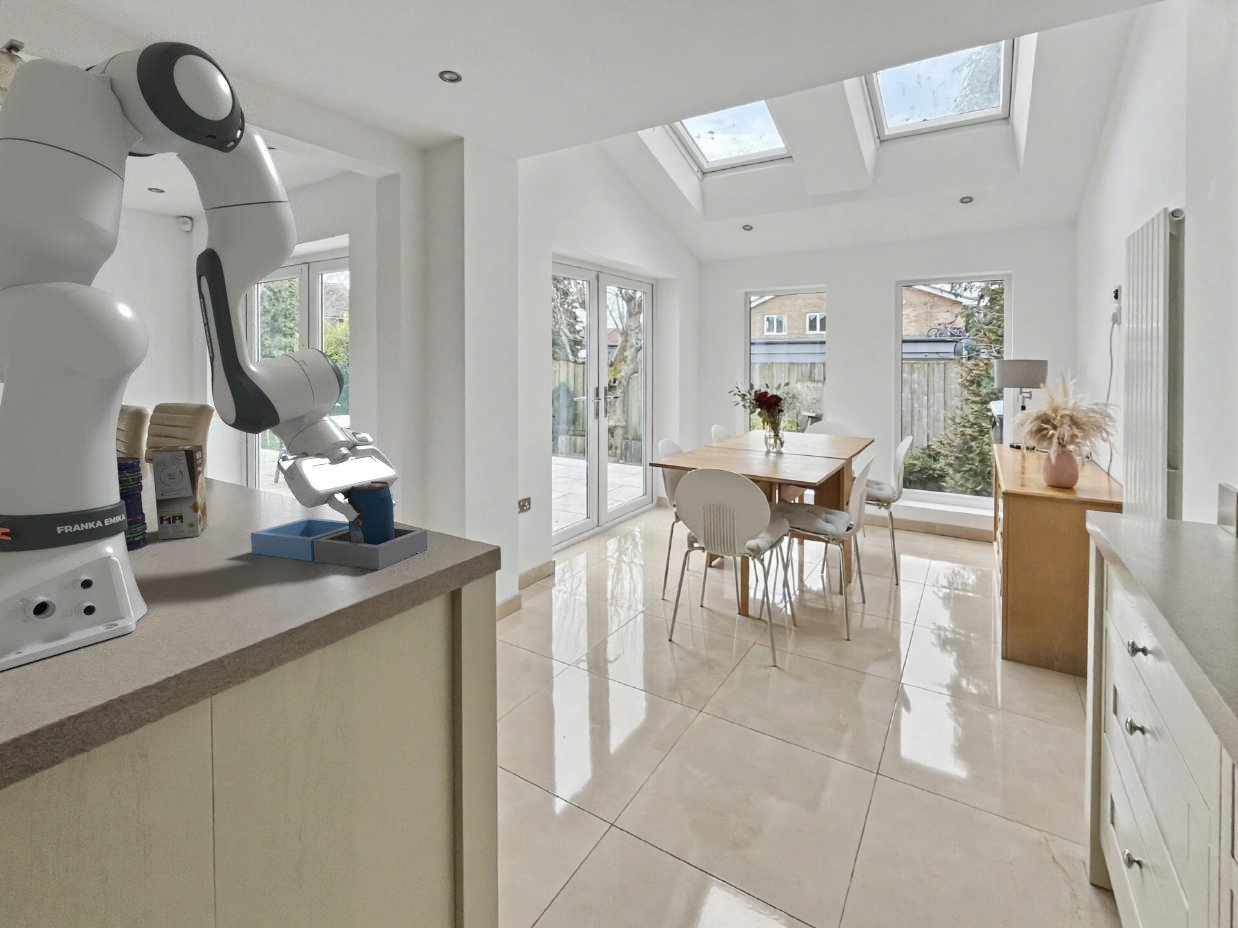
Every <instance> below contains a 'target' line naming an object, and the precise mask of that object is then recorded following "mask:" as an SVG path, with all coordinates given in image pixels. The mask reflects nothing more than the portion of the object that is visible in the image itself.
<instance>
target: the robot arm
mask: <svg viewBox="0 0 1238 928" xmlns="http://www.w3.org/2000/svg"><path fill="white" fill-rule="evenodd" d="M168 153H169V154H170V153H175V154H176V157H177V158H178V159H179V160H180V161H181V163H182V164H184V166H185V167H186V169H187V170H188V171H189V173H190V174H191V176H192V178H193V179H194V182H195V185H196V188H197V192H198V196H199V200H200V202H201V205H202V209H203V211H204V215H205V219H206V225H207V241H206V246H205V249H204V250H203V251H202V252H201V253H199V254H198V255H197V257H196V261H195V262H196V264H195V265H196V266H195V274H196V285H197V292H198V293H197V294H198V300H199V307H200V310H201V312H200V313H201V317H202V318H201V319H202V324H203V328H204V333H205V342H206V346H207V351H208V358H209V365H210V371H211V373H210V374H211V396H212V401H213V404H214V405H213V406H214V407H215V410H216V413H217V414H218V417H219V418H220V419H221V421H222V422H223V423H224V424H225V425H226V426H229V427H230V428H232V429H234V430H237V431H240V432H243V433H246V434H253V435H259V434H261V433H263V432H266V431H268V430H270V432H271V433H272V434H273V435H274V436H275V437H277V438H278V439H280V440H281V441H282V442H283V444H284V447H285V450H286V451H287V453H288V454H286V455H282V456H280V458H279V459H278V461H277V468H278V470H279V471H280V472H281V474H282V475H283V477H284V481H285V483H286V485H287V486H288V488H289V490H290V491H291V493H292V495H293V496H294V498H295V499H296V501H297V502H298V503H299V505H302V506H303V507H305V508H306V509H311V508H315V507H319V506H323V505H328V506H329V507H330V508H331V509H332V510H333V511H336V512H337V513H339V514H342V515H343V516H344V517H345V518H346V519H347V522H349V521H354V520H357V519H359V517H360V516H361V515H362V513H361V511H360V510H359V509H358V507H357V506H351V505H350V504H349V503H348V501H346V500H348V494H349V492H350V490H351V489H352V486H354V487H358V485H359V486H364V485H362V484H371V481H381V482H387V483H389V488H390V489H391V487H392V486H393V485H394V484H395V483H396V482H397V480H398V479H399V473H398V470H397V469H396V468H395V466H394V464H392V462H391V461H390V459H388V457H387V456H386V455H385V454H384V453H383V451H381V449H379V448H378V447H377V446H375V445H372V444H373V442H374V440H373V438H372V437H371V435H369V434H368V433H364V432H360V431H355V430H353V429H352V430H351V429H348V428H346V427H342V426H339V424H338V423H337V422H336V421H335V420H334V419H332V417H331V416H330V411H332V410H333V409H334V407H335V406H336V405H337V403H338V401H339V400H340V396H341V394H342V392H343V390H344V385H345V379H344V374H343V373H342V371H341V369H340V368H339V366H338V364H337V363H336V362H335V361H334V359H332V358H331V356H329V355H328V354H326V353H325V352H323V351H322V350H320V349H317V348H314V347H312V348H311V347H310V348H306V349H300V350H297V351H292V352H287V353H285V354H282V355H279V356H276V357H273V358H272V357H271V358H268V359H264V360H260V361H257V362H251V361H250V355H249V350H248V344H247V339H246V338H247V337H246V332H245V330H246V329H245V326H244V318H243V312H242V310H243V309H242V308H243V301H244V299H245V297H246V295H247V293H248V292H249V291H250V290H251V289H252V288H253V287H254V286H255V285H256V284H257V283H259V282H260V281H262V280H263V279H265V278H266V277H268V276H269V275H271V274H273V273H274V272H275V271H277V270H278V269H280V268H281V267H282V266H283V265H284V264H285V263H286V262H287V261H288V260H289V258H290V257H291V256H292V254H293V253H294V250H295V249H296V246H297V242H298V241H297V240H298V234H297V225H296V221H295V218H294V214H293V210H292V208H291V204H290V200H289V198H288V197H289V196H288V194H287V191H286V187H285V185H284V183H283V180H282V177H281V175H280V171H279V170H278V167H277V165H276V162H275V160H274V158H273V155H272V154H271V152H270V149H269V148H268V146H267V144H266V142H265V140H264V139H263V137H262V136H261V134H260V133H259V132H258V131H257V130H256V129H255V128H254V127H252V126H250V125H249V124H248V123H247V124H246V119H245V113H244V110H243V108H242V106H241V105H240V100H239V96H238V94H237V92H236V90H235V88H234V85H233V84H232V82H231V80H230V78H229V77H228V76H227V74H226V73H225V71H224V69H223V68H222V67H221V66H220V65H219V63H218V62H216V60H215V58H213V57H212V56H210V55H209V54H208V53H207V52H205V51H204V50H202V49H201V48H199V47H197V46H194V45H193V44H189V43H184V42H179V41H161V42H159V41H158V42H154V43H152V44H149V45H148V46H146V47H141V48H136V49H133V50H128V51H122V52H119V53H117V54H114V55H112V56H109V57H108V58H106V59H104V60H103V61H101V62H99V63H98V64H96V65H91V66H88V67H86V68H85V69H84V68H81V67H79V66H77V65H75V64H72V63H70V62H66V61H62V60H59V59H53V58H52V59H50V58H35V59H34V58H33V59H31V60H28V61H25V62H23V63H22V64H21V65H19V66H18V67H17V69H16V70H15V72H14V75H13V76H12V79H11V80H10V83H9V85H8V87H7V91H6V93H5V95H4V98H3V100H2V104H1V108H0V383H1V384H3V388H2V396H1V400H0V672H1V671H4V670H7V669H10V668H11V669H12V668H13V667H17V666H20V665H24V664H27V663H30V662H34V661H37V660H42V659H45V658H48V657H51V656H54V655H59V654H62V653H65V652H68V651H72V650H75V649H78V648H82V647H85V646H89V645H92V644H95V643H98V642H103V641H105V640H108V639H112V638H116V637H119V636H123V635H127V634H128V633H131V632H133V631H135V630H136V628H137V624H136V623H137V621H138V620H139V619H141V618H142V617H143V616H144V615H145V614H146V613H147V612H148V605H147V604H146V602H145V600H144V598H143V596H142V594H141V592H140V588H139V587H138V584H137V582H136V578H135V577H136V576H135V575H134V572H133V567H132V564H131V561H130V556H129V552H128V550H127V545H126V540H127V532H128V525H127V515H126V508H125V501H123V500H122V499H120V493H119V481H118V468H117V457H118V456H117V455H118V454H117V430H118V429H117V428H118V422H119V416H120V412H121V408H122V404H123V400H124V396H125V392H126V388H127V385H128V382H129V380H130V378H131V376H132V375H133V373H134V372H135V371H136V370H137V369H138V368H139V367H140V366H141V364H142V363H143V362H144V360H145V358H146V356H147V354H148V350H149V344H150V343H149V341H150V340H149V338H150V337H149V331H148V329H147V325H146V323H145V321H144V318H143V317H142V316H141V314H140V313H139V312H138V310H137V309H136V308H135V307H134V306H133V305H132V304H131V303H129V301H127V300H126V299H124V298H123V297H121V296H120V295H117V294H115V293H113V292H110V291H107V290H103V289H100V288H97V287H93V286H92V284H93V282H94V280H95V278H96V276H97V275H98V273H99V271H100V270H101V268H102V267H103V265H105V263H106V262H107V261H108V260H109V259H110V258H111V257H112V255H113V254H114V252H115V251H116V249H117V245H118V241H119V240H118V239H119V231H120V223H121V214H122V213H121V212H122V205H123V198H124V197H123V195H124V189H125V180H126V177H125V176H126V165H127V164H126V163H127V162H126V161H127V159H128V157H134V158H148V157H152V156H156V155H158V154H159V155H160V154H168ZM396 504H397V503H396V502H395V500H394V499H393V509H394V508H395V507H396Z"/></svg>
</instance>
